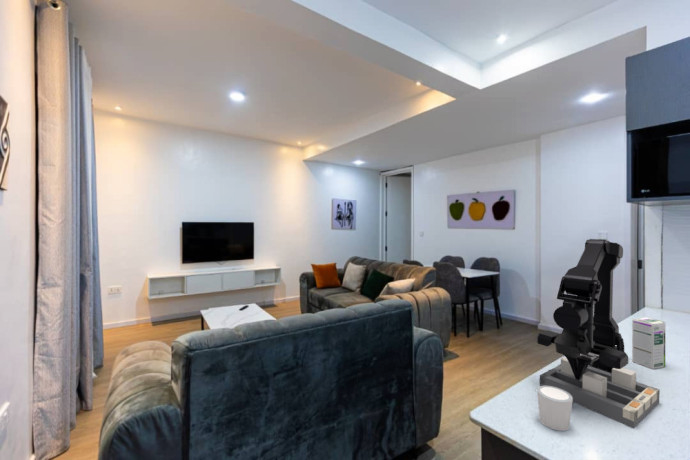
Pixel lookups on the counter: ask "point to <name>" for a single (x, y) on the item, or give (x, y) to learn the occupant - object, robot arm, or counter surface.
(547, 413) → the white cup
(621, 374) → the tab
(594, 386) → the cream rectangular block
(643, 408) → the switch bank
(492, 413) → the counter surface
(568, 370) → the beige rectangular block
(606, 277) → the robot arm
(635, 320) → the syrup box
